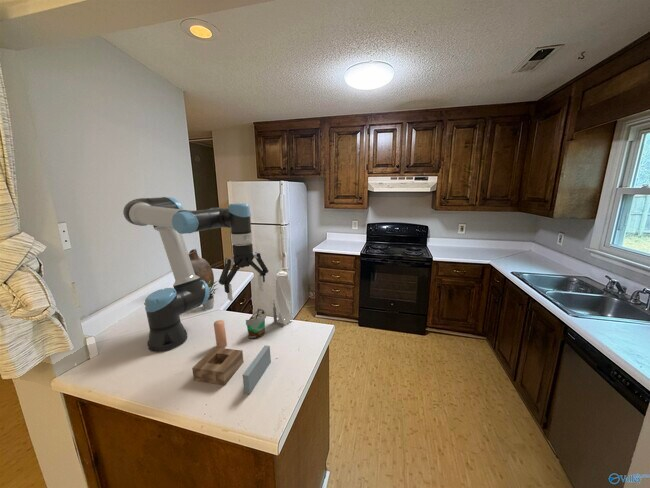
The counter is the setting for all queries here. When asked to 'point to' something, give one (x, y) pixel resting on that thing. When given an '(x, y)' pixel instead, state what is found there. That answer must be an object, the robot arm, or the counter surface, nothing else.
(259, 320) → the food container
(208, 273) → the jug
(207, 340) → the counter surface
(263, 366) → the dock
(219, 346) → the dowel
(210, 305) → the house plant
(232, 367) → the block
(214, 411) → the counter surface
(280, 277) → the skyscraper
